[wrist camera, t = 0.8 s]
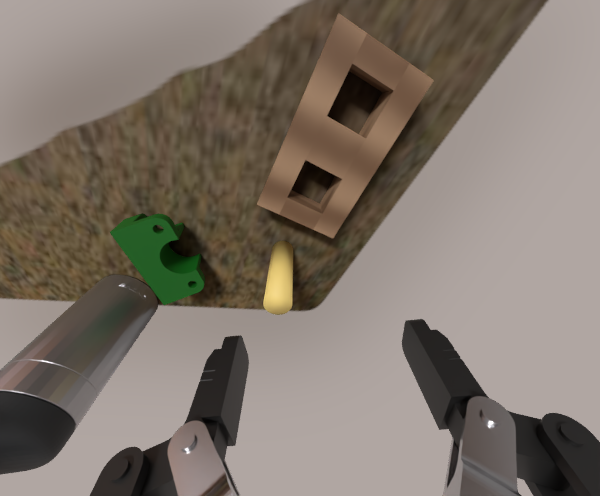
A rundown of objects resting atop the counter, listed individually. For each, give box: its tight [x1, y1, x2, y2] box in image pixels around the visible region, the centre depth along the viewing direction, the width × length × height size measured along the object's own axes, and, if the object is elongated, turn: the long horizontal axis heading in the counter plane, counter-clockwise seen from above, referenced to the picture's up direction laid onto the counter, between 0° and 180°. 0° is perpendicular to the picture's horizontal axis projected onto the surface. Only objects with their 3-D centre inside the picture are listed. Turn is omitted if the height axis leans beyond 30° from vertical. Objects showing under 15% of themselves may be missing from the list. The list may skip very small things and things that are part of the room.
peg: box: [263, 241, 293, 315], centre depth 30 cm, size 3×3×11 cm
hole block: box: [257, 14, 434, 238], centre depth 26 cm, size 18×10×4 cm, turn 154°
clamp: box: [110, 214, 205, 305], centre depth 32 cm, size 12×6×9 cm, turn 9°
